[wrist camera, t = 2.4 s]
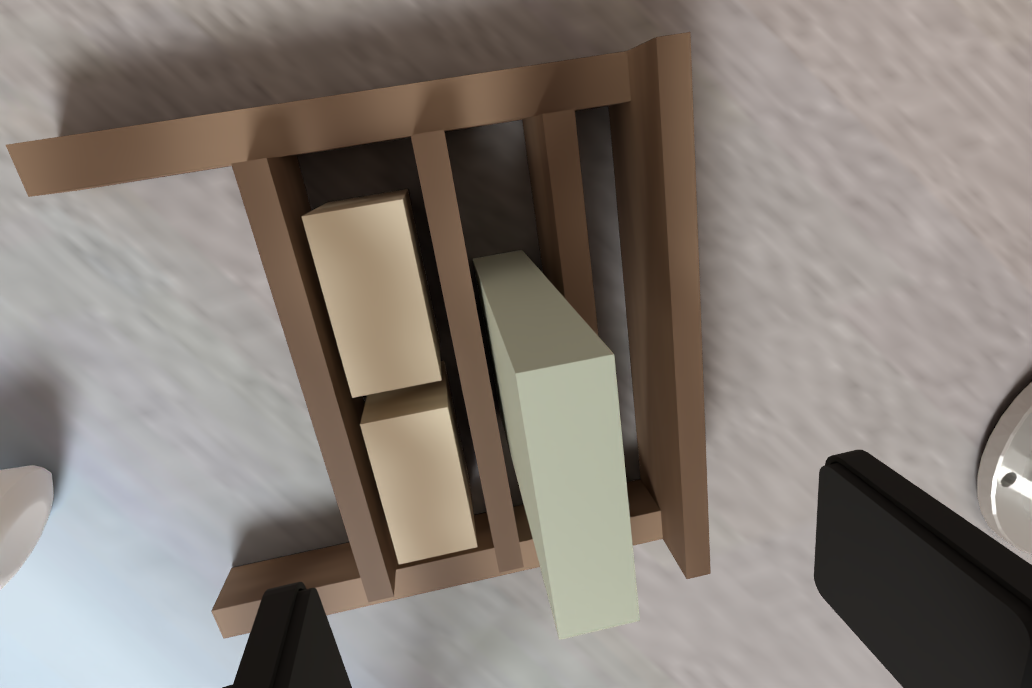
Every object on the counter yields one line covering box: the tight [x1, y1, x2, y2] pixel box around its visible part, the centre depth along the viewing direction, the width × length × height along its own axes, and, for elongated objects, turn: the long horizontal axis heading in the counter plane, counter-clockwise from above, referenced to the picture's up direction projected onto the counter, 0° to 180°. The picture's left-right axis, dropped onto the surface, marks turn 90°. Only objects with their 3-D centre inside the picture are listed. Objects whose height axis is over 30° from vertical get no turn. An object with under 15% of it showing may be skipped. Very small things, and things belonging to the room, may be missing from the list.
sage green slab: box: [472, 250, 640, 640], centre depth 18 cm, size 2×7×12 cm, turn 9°
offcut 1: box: [302, 189, 442, 398], centre depth 20 cm, size 3×6×4 cm, turn 9°
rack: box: [6, 32, 710, 638], centre depth 21 cm, size 20×20×5 cm
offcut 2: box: [360, 361, 477, 564], centre depth 22 cm, size 3×6×4 cm, turn 9°
